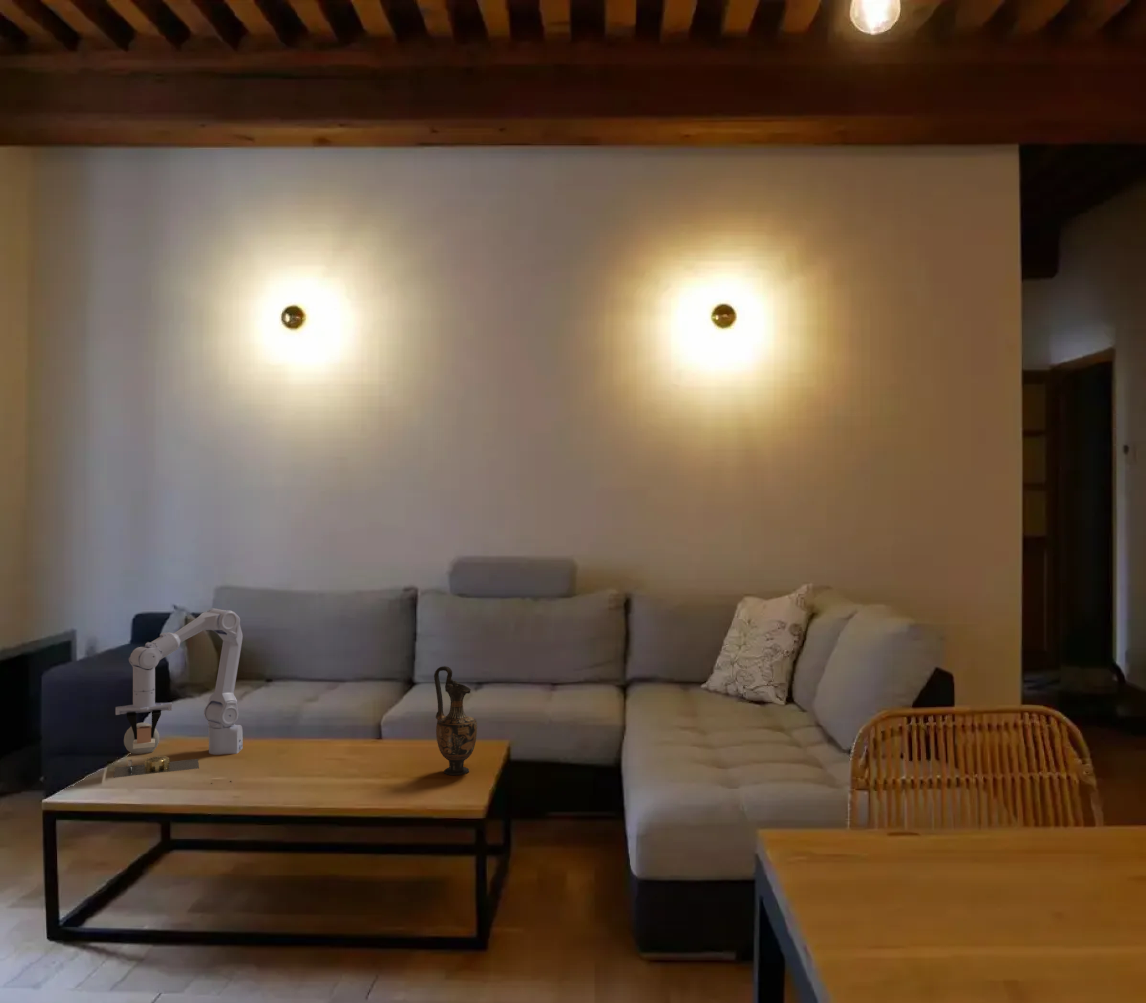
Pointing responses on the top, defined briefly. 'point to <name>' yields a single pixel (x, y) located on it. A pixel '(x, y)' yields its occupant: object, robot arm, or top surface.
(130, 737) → the donut
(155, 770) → the carrier plate
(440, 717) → the vase
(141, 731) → the square sleeve on tile
